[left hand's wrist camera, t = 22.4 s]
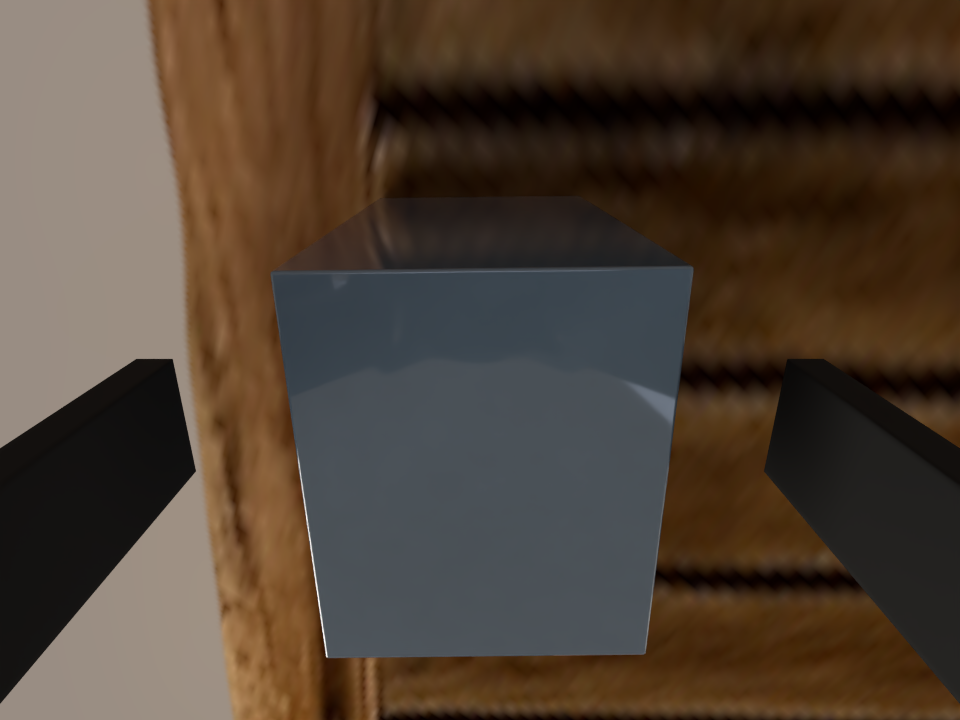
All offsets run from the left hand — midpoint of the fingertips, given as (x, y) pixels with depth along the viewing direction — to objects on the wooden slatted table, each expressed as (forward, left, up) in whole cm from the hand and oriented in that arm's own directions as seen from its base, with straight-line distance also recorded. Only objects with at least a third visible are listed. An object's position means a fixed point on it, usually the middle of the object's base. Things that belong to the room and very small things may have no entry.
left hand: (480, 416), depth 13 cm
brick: (0, 0, -7) cm, 7 cm away
